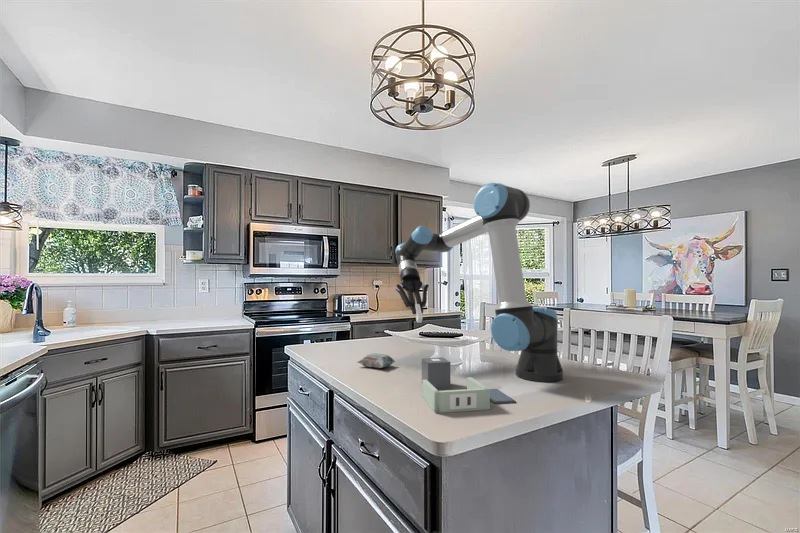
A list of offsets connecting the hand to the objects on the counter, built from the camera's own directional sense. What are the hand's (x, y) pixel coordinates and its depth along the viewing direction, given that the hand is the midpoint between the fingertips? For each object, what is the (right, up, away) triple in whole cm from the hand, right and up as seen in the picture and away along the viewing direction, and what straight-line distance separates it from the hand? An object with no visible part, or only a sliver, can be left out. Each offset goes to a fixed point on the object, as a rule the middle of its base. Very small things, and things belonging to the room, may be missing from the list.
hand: (419, 320), depth 139 cm
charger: (+4, -18, -20) cm, 27 cm away
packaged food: (-16, -19, +5) cm, 25 cm away
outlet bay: (+7, -17, -35) cm, 40 cm away
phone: (+20, -18, -30) cm, 40 cm away
